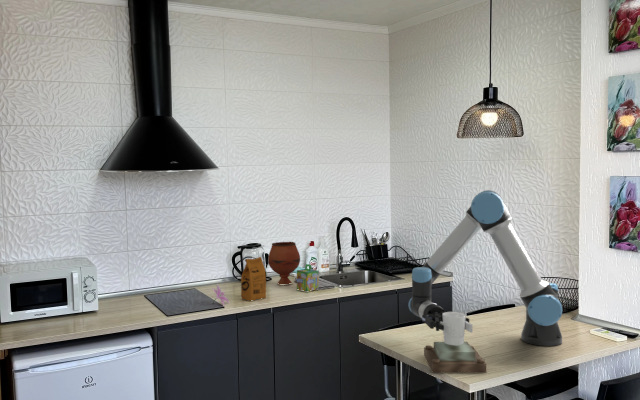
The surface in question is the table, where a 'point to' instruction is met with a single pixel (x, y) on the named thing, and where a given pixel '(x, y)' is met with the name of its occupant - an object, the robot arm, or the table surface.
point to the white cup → (454, 328)
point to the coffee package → (253, 280)
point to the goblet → (284, 259)
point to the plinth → (454, 364)
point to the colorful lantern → (307, 279)
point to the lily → (220, 295)
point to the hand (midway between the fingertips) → (460, 329)
